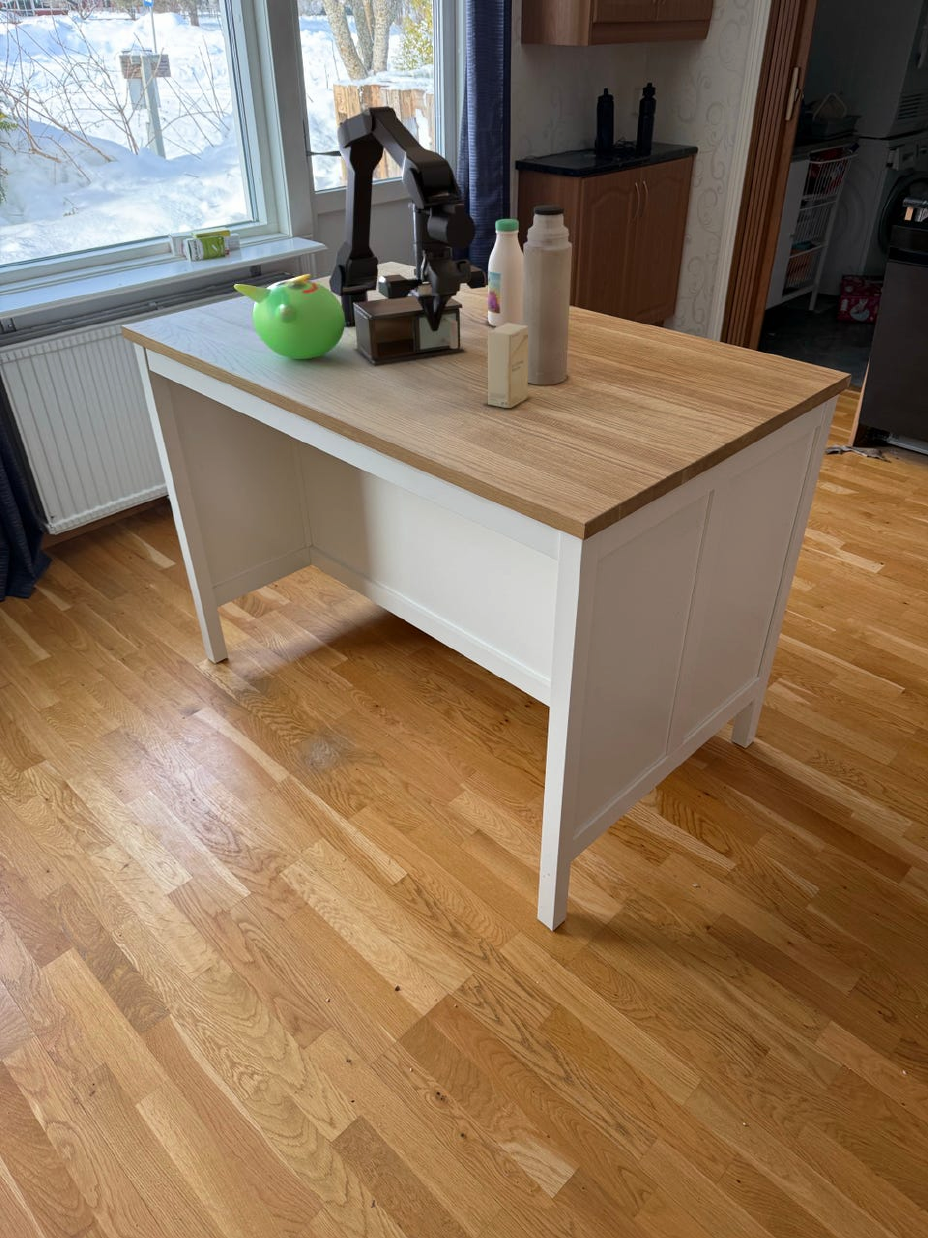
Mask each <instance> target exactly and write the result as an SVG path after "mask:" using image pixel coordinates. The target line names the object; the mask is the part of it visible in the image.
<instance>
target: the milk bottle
mask: <svg viewBox="0 0 928 1238" xmlns="http://www.w3.org/2000/svg"><path fill="white" fill-rule="evenodd" d="M519 226H520V223H519V220H518V219H513V218H502V219H498V220H496V221H495V233H496V239H495V242H494V246H493V249H492V251H491V253H490V255H489V260H488V270H487V316H488V317H487V318H488V319H487V321H488V323H489V324H490V325H491V326H495V327H498V326H500V325H502V324H504V323H512V324H519V325H522V312H523V251H522V247H521V246H520V242H519V238H518V233H520V232H519Z"/></svg>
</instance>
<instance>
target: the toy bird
mask: <svg viewBox="0 0 928 1238" xmlns="http://www.w3.org/2000/svg"><path fill="white" fill-rule="evenodd" d="M311 276H312V275H311V273H306V274H303V275H298V276H295V277H293V278H291V279H290V278H289V279H286V280H281V281H278V282H275V283H273V284H272V285H269V286H268V287H267V288H265V287H260V286H254V285H249V284H242V283H237V284H234V285H233V288H234V289H235V290H236V291H237V292H238V293H240V294H242V295H243V296H245V297H247V298H249V299H251V300H252V301H254V302H255V303H254V306H253V310H252V321H253V326H254V329H255V331H256V333H257V335H258V337H259V339H260V340H261V341H262V342H263V344H264V345H265V346H266V347H267V348H269V349H270V350H271V351H273V352H275V353H276V354H278V355H280V356H282V357H285V358H289V359H294V360H308V359H315V358H318V357H320V356H323V355H326V354H327V353H329V352H330V351H332V350H333V349H334V348H335V347H336V346H337V345H338V343H339V342H340V341H341V339H342V337H343V334H344V332H345V327H346V326H345V317H344V312H343V309H342V307H341V302H340V301H339V300H338V298H337V297H336V295H334V293H332V292H331V290H330V289H328V288H327V287H326V286H323V285H322V284H320V283H317V282H316V281H312V280H310V279H309V278H310V277H311ZM308 279H309V280H308Z"/></svg>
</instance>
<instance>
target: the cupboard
mask: <svg viewBox="0 0 928 1238" xmlns="http://www.w3.org/2000/svg"><path fill="white" fill-rule="evenodd" d="M353 304H354V315H355V325H354V326H355V337H356V349H357V351H358V352H359V353H360V354H361V355H362V356H364V358H366V359H367V360H368V361H369V362H370V363H371V364H372V365H373V366H382V365H388V364H394V363H395V364H396V363H400V362H401V363H402V362H407V361H408V362H409V361H414V360H421V359H426V358H432V357H433V358H434V357H440V356H447V355H453V354H460V353H464V348H463V347H461V346H460V347H458V348H456V349H452V348H447V349H441V350H434V351H428V352H421V353H416V348H415V328H414V315H415V314H422V313H424V311H423V309H422V307H421V305H420V303H419V301H418V300H417V298H415V297H414V296H412V295H411V294H410V295H408V296H407V297H406V298H398V299H388V298H380V299H374V300H373V299H372V300H368V301H365V302H357V303H353ZM452 309H463V303H461V302H459V301H457V300H456V299H454V298H453V297H451V298H450V299H449V300H448V302H447V304H446V306H445V309H444V310H452Z"/></svg>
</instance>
